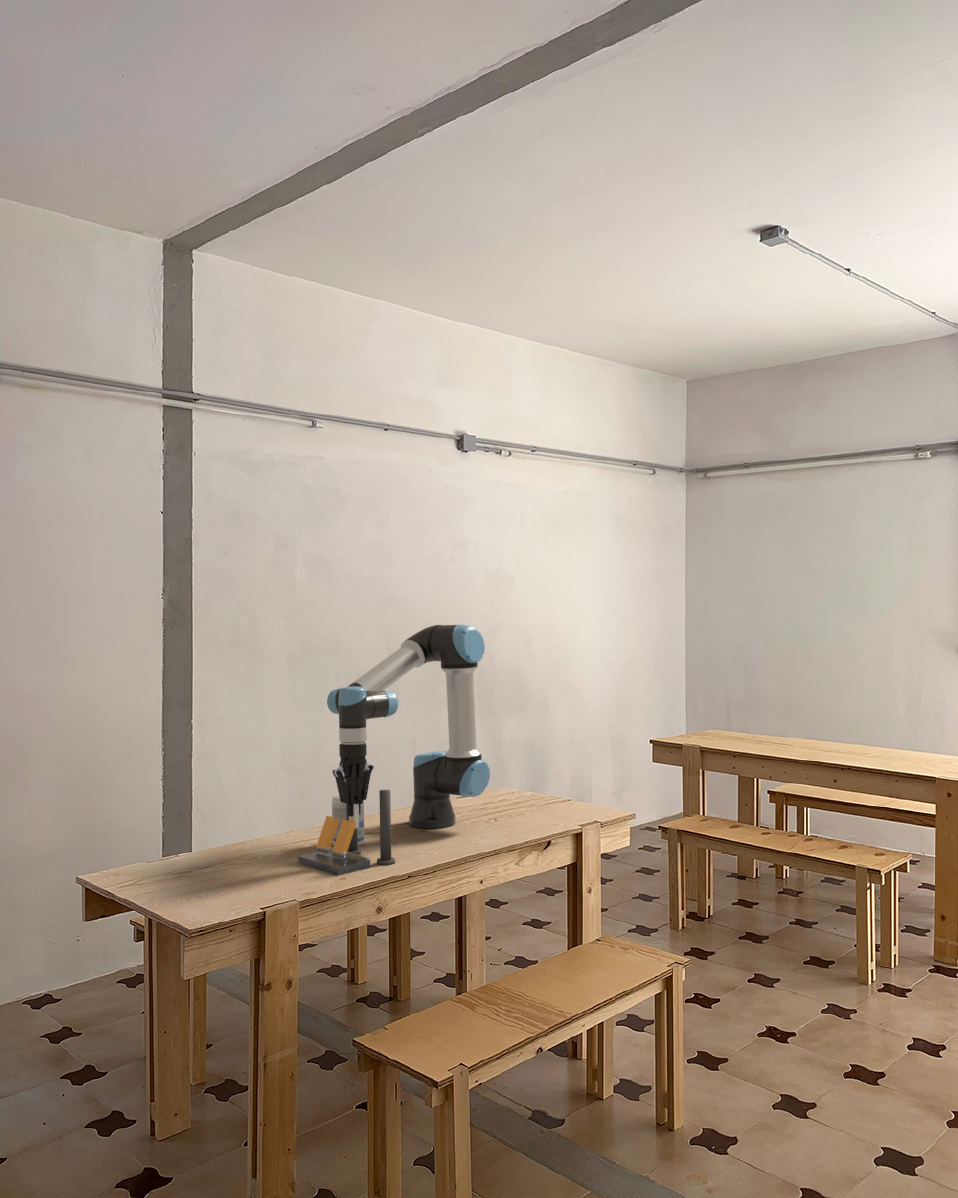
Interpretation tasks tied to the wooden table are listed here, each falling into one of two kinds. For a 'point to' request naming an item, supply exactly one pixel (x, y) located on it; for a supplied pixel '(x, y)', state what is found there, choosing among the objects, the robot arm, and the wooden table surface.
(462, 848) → the wooden table surface
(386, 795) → the post
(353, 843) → the post
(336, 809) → the supplement tub
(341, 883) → the wooden table surface
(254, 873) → the wooden table surface
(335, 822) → the orange flat block
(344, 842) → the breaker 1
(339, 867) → the panel plate
